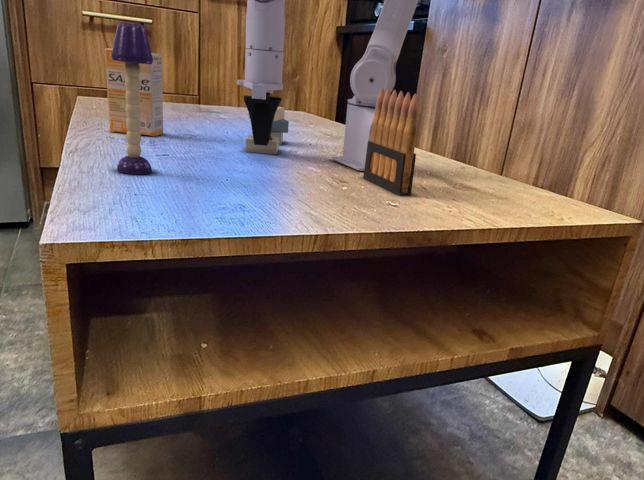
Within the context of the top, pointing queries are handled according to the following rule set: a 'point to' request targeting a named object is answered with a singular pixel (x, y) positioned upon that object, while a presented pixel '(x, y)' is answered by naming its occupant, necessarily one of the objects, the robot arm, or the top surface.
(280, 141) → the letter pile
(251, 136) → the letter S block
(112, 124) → the supplement box
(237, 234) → the top surface
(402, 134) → the ammunition clip
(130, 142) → the toy lamp
